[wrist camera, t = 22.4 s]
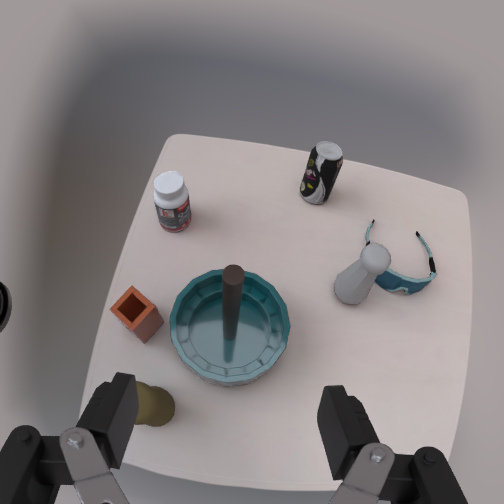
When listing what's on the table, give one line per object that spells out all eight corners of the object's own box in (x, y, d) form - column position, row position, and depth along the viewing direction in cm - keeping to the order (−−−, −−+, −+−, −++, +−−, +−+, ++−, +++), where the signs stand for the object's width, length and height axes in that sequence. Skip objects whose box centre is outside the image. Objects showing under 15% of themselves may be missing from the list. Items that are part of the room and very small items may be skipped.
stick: (219, 334, 46) (217, 276, 28) (228, 324, 47) (231, 260, 29) (230, 342, 45) (235, 289, 28) (239, 332, 46) (249, 272, 29)
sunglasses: (361, 289, 52) (373, 272, 48) (359, 225, 61) (368, 207, 57) (430, 303, 51) (444, 288, 47) (420, 240, 60) (431, 225, 56)
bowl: (155, 340, 45) (146, 329, 40) (221, 267, 52) (220, 249, 47) (239, 407, 41) (241, 406, 36) (301, 325, 48) (311, 312, 43)
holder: (123, 324, 46) (109, 309, 39) (143, 303, 48) (131, 285, 41) (144, 344, 44) (132, 331, 38) (164, 321, 46) (155, 306, 40)
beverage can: (294, 185, 62) (307, 139, 51) (320, 181, 63) (336, 137, 52) (305, 208, 59) (321, 163, 49) (332, 203, 60) (351, 160, 50)
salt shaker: (327, 303, 50) (356, 266, 39) (333, 272, 53) (361, 229, 42) (360, 312, 50) (396, 279, 38) (365, 282, 52) (399, 242, 41)
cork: (157, 435, 38) (137, 439, 28) (125, 407, 39) (98, 402, 30) (183, 404, 41) (170, 400, 31) (151, 377, 42) (130, 365, 33)
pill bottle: (187, 235, 54) (182, 198, 46) (156, 231, 54) (145, 194, 45) (194, 208, 57) (190, 170, 48) (164, 205, 57) (156, 167, 48)
